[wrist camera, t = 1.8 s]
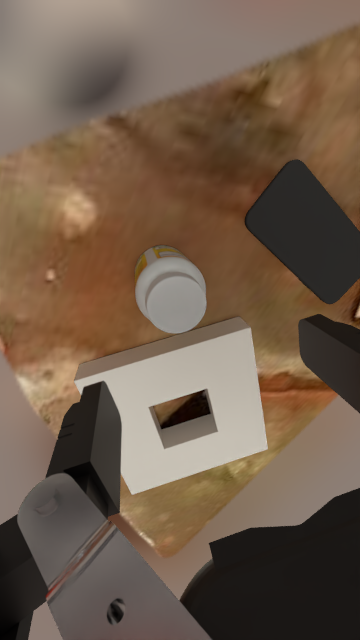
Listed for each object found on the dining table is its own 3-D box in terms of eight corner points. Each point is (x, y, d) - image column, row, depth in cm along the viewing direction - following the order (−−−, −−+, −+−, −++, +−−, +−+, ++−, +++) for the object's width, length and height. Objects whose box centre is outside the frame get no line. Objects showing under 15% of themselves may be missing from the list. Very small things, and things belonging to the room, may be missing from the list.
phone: (296, 152, 23) (380, 256, 29) (291, 154, 24) (374, 255, 30) (240, 222, 25) (330, 308, 30) (237, 222, 26) (325, 306, 31)
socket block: (239, 316, 29) (250, 327, 26) (257, 431, 37) (267, 449, 34) (79, 364, 28) (73, 381, 25) (131, 472, 36) (132, 494, 33)
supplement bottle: (172, 233, 25) (195, 247, 16) (197, 282, 27) (230, 317, 18) (122, 263, 25) (119, 292, 16) (152, 308, 27) (162, 356, 18)
